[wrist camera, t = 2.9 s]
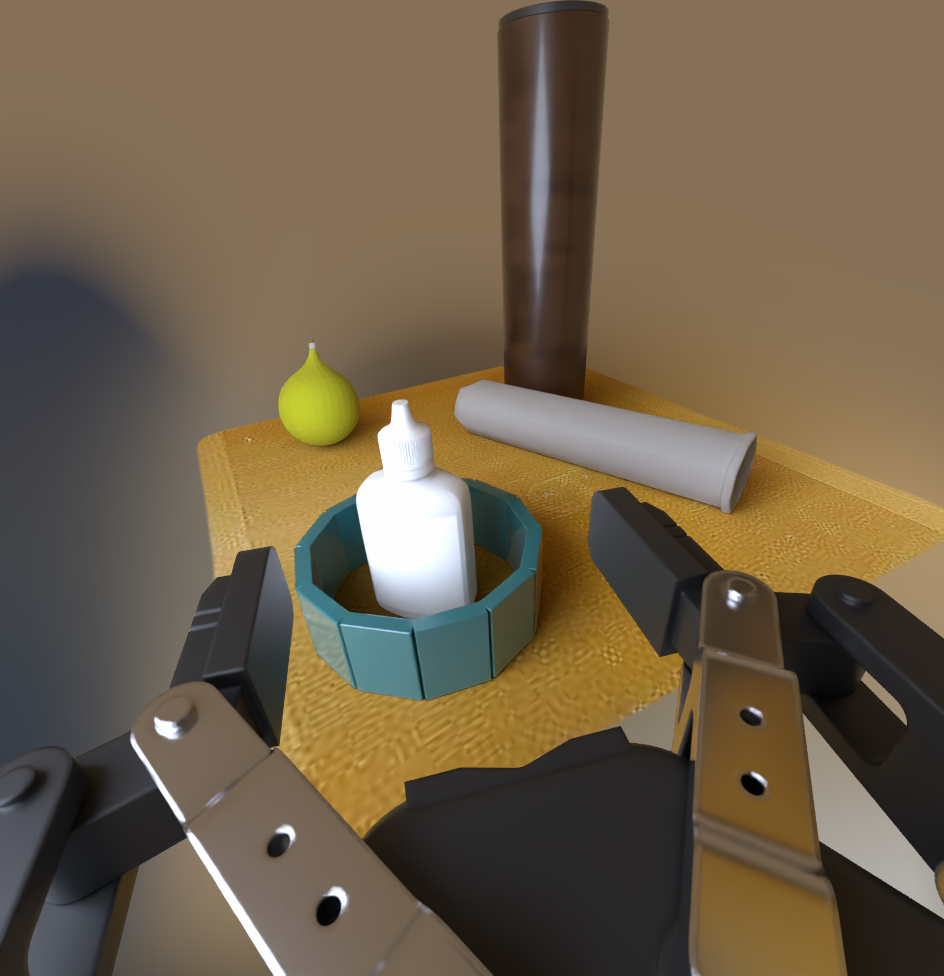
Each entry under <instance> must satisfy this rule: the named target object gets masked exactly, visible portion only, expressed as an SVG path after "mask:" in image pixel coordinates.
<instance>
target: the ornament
mask: <svg viewBox="0 0 944 976" xmlns="http://www.w3.org/2000/svg"><path fill="white" fill-rule="evenodd" d="M309 350H310V352H309V357H308V359H307V361H306V363H305V364H304V365H303V366H302V367H301V368H300V369H299V370H298V371H297V372H296V373H295V374H293V375H292V376H291V377H290V378H289V379H288V380H287V381H286V383H285V384H284V386H283V387H282V390H281V392H280V395H279V400H278V410H279V415H280V418H281V420H282V423H283V425H284V426H285V428H286V429H287V430H288V431H289V432H290V433H291V434H292V435H293V436H294V437H295V438H297V439H298V440H300V441H301V442H304V443H307V444H309V445H314V446H328V445H332V444H335V443H337V442H339V441H341V440H343V439H344V438H346V437H347V436H348V435H349V434H350V433H351V432H352V431H353V429H354V428H355V426H356V424H357V421H358V418H359V411H360V410H359V400H358V397H357V394H356V391H355V390H354V388H353V386H352V385H351V384H350V382H349V381H348V380H347V379H346V378H344V377H343V376H342V375H341V374H339V373H337V372H336V371H334V370H333V369H331V368H330V367H329V366H327V365H326V364H325V363H324V362H323V361H322V360H321V359H320V357H319V355H318V353H317V351H316V343H309Z"/></svg>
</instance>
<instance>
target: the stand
mask: <svg viewBox="0 0 944 976" xmlns="http://www.w3.org/2000/svg"><path fill="white" fill-rule="evenodd" d="M608 29H609V19H608V9H607V7H606V6H604V5H602V4H599V3H596V2H591V1H580V0H568V1H555V2H546V3H540V4H535V5H531V6H527V7H523V8H520V9H517V10H515V11H512V12H510V13H508V14H506V15H505V16H504V17H502V18H501V19H500V21H499V30H498V34H497V37H498V82H499V83H498V84H499V133H500V134H499V135H500V181H501V232H502V277H503V279H502V280H503V329H504V378H505V384H507V385H512V386H516V387H521V388H526V389H531V390H535V391H540V392H545V393H550V394H554V395H559V396H564V397H569V398H573V399H578V400H583V398H584V383H585V368H586V354H587V338H588V324H589V310H590V294H591V280H592V266H593V251H594V236H595V222H596V207H597V193H598V177H599V163H600V162H599V161H600V149H601V133H602V119H603V105H604V104H603V103H604V90H605V75H606V61H607V46H608V31H609V30H608Z"/></svg>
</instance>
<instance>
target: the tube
mask: <svg viewBox="0 0 944 976" xmlns="http://www.w3.org/2000/svg"><path fill="white" fill-rule="evenodd" d="M454 416H455V417H456V418H457V419H458V420H459V421H460V423H461V424H462V425H463V426H464V427H465V428H466V429H467V430H468V432H469V433H471V434H474V435H478V436H481V437H484V438H488V439H491V440H494V441H498V442H501V443H504V444H508V445H511V446H515V447H518V448H521V449H525V450H528V451H531V452H535V453H538V454H541V455H545V456H548V457H552V458H555V459H558V460H562V461H565V462H568V463H572V464H575V465H578V466H582V467H585V468H588V469H592V470H595V471H599V472H602V473H605V474H609V475H612V476H615V477H619V478H622V479H625V480H629V481H632V482H636V483H639V484H642V485H646V486H649V487H652V488H656V489H659V490H662V491H666V492H669V493H673V494H676V495H679V496H683V497H686V498H689V499H693V500H696V501H699V502H703V503H706V504H710V505H713V506H716V507H718V508H720V509H721V511H722V512H724V513H727V514H730V513H731V512H732V510H733V509H734V507H735V505H736V504H737V502H738V501H739V499H740V497H741V494H742V492H743V490H744V487H745V485H746V482H747V480H748V478H749V475H750V472H751V468H752V464H753V460H754V457H755V453H756V448H757V434H756V433H753V432H748V433H746V434H739V433H735V432H730V431H725V430H720V429H716V428H711V427H706V426H701V425H697V424H692V423H687V422H682V421H678V420H673V419H668V418H663V417H659V416H654V415H649V414H644V413H640V412H635V411H630V410H625V409H621V408H616V407H611V406H606V405H602V404H597V403H592V402H587V401H583V400H578V399H573V398H569V397H564V396H559V395H554V394H550V393H545V392H540V391H535V390H531V389H526V388H521V387H516V386H512V385H507V384H502V383H497V382H493V381H488V380H483V379H482V380H480V381H478V382H476V383H474V384H472V385H470V386H467V387H464V388H460V391H459V394H458V397H457V400H456V405H455V414H454Z"/></svg>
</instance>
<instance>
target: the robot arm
mask: <svg viewBox="0 0 944 976" xmlns="http://www.w3.org/2000/svg"><path fill="white" fill-rule="evenodd" d="M588 545H589V551H590V554H591V557H592V559H593V561H594V563H595V564H596V566H597V567H598V569H599V570H600V572H601V573H602V574H603V576H604V577H605V579H606V580H607V582H608V583H609V585H610V586H611V587H612V589H613V590H614V592H615V593H616V595H617V596H618V598H619V599H620V600H621V602H622V603H623V605H624V606H625V608H626V609H627V611H628V612H629V613H630V615H631V616H632V618H633V619H634V621H635V622H636V623H637V625H638V626H639V628H640V629H641V631H642V632H643V634H644V635H645V636H646V638H647V639H648V641H649V642H650V644H651V645H652V647H653V648H654V649H655V651H656V652H657V654H658V655H659V657H661V656H666V655H670V654H674V653H679V655H680V656H681V657H682V659H683V663H682V666H681V672H680V681H679V691H678V700H677V710H676V719H675V728H674V737H673V743H672V749H671V751H668V750H665V749H662V748H659V747H655V746H650V745H645V744H638V743H629V741H628V739H627V737H626V735H625V733H624V732H623V730H622V728H621V726H619V727H615V728H611V729H607V730H603V731H599V732H596V733H592V734H588V735H584V736H580V737H576V738H573V739H570V740H568V741H566V742H565V743H563V744H561V745H560V746H558V747H556V748H554V749H553V750H551V751H549V752H548V753H546V754H544V755H543V756H541V757H539V758H538V759H536V760H534V761H532V762H531V763H529V764H527V765H525V766H523V767H520V768H457V769H453V770H449V771H446V772H442V773H438V774H434V775H430V776H426V777H423V778H419V779H415V780H411V781H407V782H405V791H406V800H407V801H405V802H403V803H402V804H400V805H398V806H397V807H395V808H394V809H392V810H391V811H390V812H388V813H387V814H386V815H384V816H383V817H382V818H381V819H380V820H379V821H378V822H377V823H376V824H374V825H373V826H372V827H371V828H370V830H369V831H368V832H367V833H366V834H365V835H364V836H363V838H362V839H361V838H360V837H359V836H358V835H357V833H356V832H355V831H354V830H353V829H352V828H351V827H350V826H349V825H348V824H347V822H346V821H345V820H344V819H343V818H342V817H341V816H340V815H339V814H338V812H337V811H336V810H335V809H334V808H333V807H332V806H331V805H330V804H329V803H328V801H327V800H326V799H325V798H324V797H323V796H322V795H321V794H320V793H319V792H318V790H317V789H316V788H315V787H314V786H313V785H312V784H311V783H310V782H309V781H308V779H307V778H306V777H305V776H304V775H303V774H302V773H301V772H300V771H299V770H298V768H297V767H296V766H295V765H294V764H293V763H292V762H291V761H290V760H289V759H288V757H287V756H286V755H285V754H284V753H283V752H282V751H280V750H279V749H278V748H274V749H273V750H271V749H270V748H271V747H275V746H279V744H280V735H281V726H282V717H283V708H284V699H285V690H286V681H287V672H288V663H289V654H290V645H291V636H292V627H293V605H292V599H291V595H290V592H289V589H288V586H287V582H286V579H285V576H284V573H283V570H282V567H281V564H280V561H279V558H278V555H277V552H276V550H275V548H274V547H273V546H270V547H264V548H258V549H252V550H246V551H241V552H238V554H237V556H236V559H235V563H234V566H233V570H232V573H231V575H229V576H223V577H217V578H216V579H215V580H214V582H213V583H212V584H211V585H210V586H209V587H208V588H207V590H206V591H205V592H204V593H203V594H202V596H201V599H200V601H199V604H198V607H197V610H196V617H194V619H193V622H192V625H191V627H190V629H191V632H189V633H188V636H187V639H186V642H185V645H184V647H183V650H182V653H181V656H180V659H179V662H178V665H177V668H176V671H175V673H174V677H173V679H172V682H171V685H170V688H169V690H167V691H165V692H164V693H162V694H160V695H159V696H157V697H156V698H155V699H153V700H152V701H151V702H150V703H149V704H148V705H147V706H146V707H145V708H144V709H143V710H142V711H141V713H140V714H139V715H138V717H137V718H136V720H135V722H134V724H133V727H132V730H131V731H129V732H127V733H125V734H124V735H122V736H120V737H118V738H116V739H113V740H111V741H109V742H108V743H105V744H103V745H101V746H99V747H96V748H94V749H92V750H90V751H88V752H86V753H84V754H82V755H79V756H77V757H75V758H73V757H72V756H71V754H70V753H69V752H68V751H67V750H66V749H64V748H61V747H58V746H45V747H40V748H36V749H33V750H30V751H27V752H25V753H23V754H20V755H18V756H17V757H15V758H13V759H11V760H9V761H8V762H6V763H5V764H3V765H2V766H0V976H112V973H113V969H114V965H115V960H116V957H117V953H118V949H119V945H120V941H121V936H122V932H123V928H124V924H125V920H126V916H127V912H128V908H129V904H130V900H131V896H132V892H133V888H134V884H135V880H136V876H137V872H138V868H139V865H140V864H142V863H144V862H146V861H147V860H149V859H151V858H152V857H154V856H156V855H158V854H159V853H161V852H163V851H165V850H166V849H168V848H170V847H172V846H173V845H175V844H177V843H178V842H180V841H182V840H184V839H185V838H187V837H188V839H189V840H190V842H191V844H192V845H193V847H194V848H195V850H196V852H197V853H198V855H199V856H200V858H201V860H202V861H203V863H204V864H205V866H206V868H207V869H208V871H209V872H210V874H211V876H212V877H213V879H214V880H215V882H216V883H217V885H218V887H219V888H220V890H221V891H222V893H223V895H224V896H225V898H226V900H227V901H228V903H229V904H230V906H231V907H232V909H233V911H234V912H235V914H236V916H237V917H238V919H239V920H240V922H241V923H242V925H243V927H244V928H245V930H246V932H247V933H248V935H249V936H250V938H251V940H252V941H253V943H254V944H255V946H256V948H257V949H258V951H259V952H260V954H261V956H262V957H263V959H264V960H265V962H266V963H267V965H268V967H269V968H270V970H271V971H272V973H273V975H274V976H944V919H943V918H941V917H940V916H938V915H937V914H935V913H933V912H932V911H930V910H929V909H927V908H925V907H924V906H922V905H921V904H919V903H917V902H916V901H914V900H913V899H911V898H909V897H908V896H906V895H905V894H903V893H901V892H900V891H898V890H897V889H895V888H893V887H892V886H890V885H889V884H887V883H886V882H884V881H882V880H881V879H879V878H878V877H876V876H874V875H872V874H871V873H870V872H868V871H866V870H865V869H863V868H861V867H860V866H858V865H857V864H855V863H854V862H852V861H850V860H849V859H847V858H846V857H844V856H842V855H841V854H839V853H837V852H836V851H834V850H833V849H831V848H830V847H828V846H826V845H825V844H823V843H821V842H820V841H819V839H818V831H817V823H816V816H815V808H814V801H813V792H812V785H811V778H810V769H809V761H808V753H807V745H806V738H805V730H804V722H803V714H804V715H805V716H806V717H807V719H808V720H809V721H810V722H811V723H812V725H813V726H814V727H815V728H816V730H817V731H818V732H819V733H820V734H821V735H822V737H823V738H824V739H825V740H826V742H827V743H828V744H829V745H830V747H831V748H832V749H833V750H834V751H835V753H836V754H837V755H838V756H839V757H840V759H841V760H842V761H843V762H844V764H845V765H846V766H847V767H848V768H849V770H850V771H851V772H852V773H853V774H854V776H855V777H856V778H857V779H858V780H859V782H860V783H861V784H862V785H863V787H864V788H865V789H866V790H867V792H868V793H869V794H870V795H871V796H872V797H873V799H874V800H875V801H876V802H877V804H878V805H879V806H880V807H881V808H882V810H883V811H884V812H885V813H886V814H887V816H888V817H889V818H890V819H891V821H892V822H893V823H894V824H895V826H896V827H897V828H898V829H899V830H900V832H901V833H902V834H903V835H904V836H905V838H906V839H907V840H908V841H909V843H910V844H911V845H912V846H913V847H914V849H915V850H916V851H917V852H918V853H919V855H920V856H921V857H922V858H923V860H924V861H925V862H926V863H927V864H928V866H929V867H930V868H931V869H932V870H933V872H934V873H935V883H936V888H937V891H938V893H939V896H940V898H941V900H942V902H943V904H944V638H942V637H941V636H940V635H938V634H937V633H936V632H934V631H933V630H932V629H930V628H929V627H928V626H927V625H926V624H924V623H923V622H922V621H920V620H919V619H918V618H917V617H915V616H914V615H913V614H912V613H910V612H909V611H908V610H906V609H905V608H904V607H903V606H901V605H900V604H899V603H898V602H896V601H895V600H894V599H892V598H891V597H890V596H888V595H887V594H886V593H885V592H883V591H882V590H881V589H879V588H877V587H876V586H874V585H872V584H870V583H868V582H866V581H863V580H860V579H857V578H854V577H850V576H844V575H827V576H823V577H821V578H819V579H818V580H817V581H816V582H815V584H814V586H813V589H812V591H811V594H804V593H782V592H773V591H772V589H771V588H770V587H769V586H768V585H766V584H765V583H764V582H762V581H761V580H759V579H757V578H755V577H753V576H751V575H748V574H746V573H742V572H738V571H731V570H724V569H723V568H722V567H721V566H720V565H719V564H718V563H717V562H716V561H714V560H713V559H712V558H711V557H710V556H709V555H708V554H707V553H706V552H705V551H704V550H703V549H702V548H701V547H700V546H699V545H698V544H697V543H696V542H695V541H694V540H693V539H692V538H691V537H690V536H687V533H686V532H685V531H684V530H683V529H682V528H681V527H680V526H677V525H676V523H675V522H674V521H673V520H672V519H671V518H670V517H669V516H668V515H667V514H666V513H665V512H664V511H662V510H660V509H658V508H656V507H655V506H653V505H651V504H649V503H647V502H643V503H640V502H639V501H638V500H637V499H636V498H635V497H634V496H633V495H632V494H631V493H630V492H629V491H628V490H627V489H626V488H624V487H619V488H614V489H608V490H602V491H596V492H595V493H594V494H593V496H592V503H591V513H590V524H589V535H588ZM865 671H867V672H868V673H869V674H870V675H871V676H872V677H873V678H874V679H875V680H876V681H877V682H878V683H879V684H880V685H882V686H883V687H884V688H885V689H886V690H887V691H888V692H889V693H890V694H891V695H892V696H893V697H894V698H895V699H896V700H897V701H898V703H899V704H900V705H901V707H902V708H903V710H904V712H905V715H906V719H907V726H906V725H905V724H904V723H903V722H902V721H901V720H900V719H899V718H898V717H897V716H896V715H895V714H894V713H893V712H892V711H891V710H890V709H889V708H888V707H887V706H886V705H885V704H884V703H883V702H882V701H881V700H880V699H879V698H878V697H877V696H876V695H875V694H874V693H873V692H872V691H871V690H870V689H869V688H868V687H867V686H866V685H865V684H864V683H863V682H862V681H861V678H862V676H863V675H864V673H865ZM802 712H803V714H802Z"/></svg>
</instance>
